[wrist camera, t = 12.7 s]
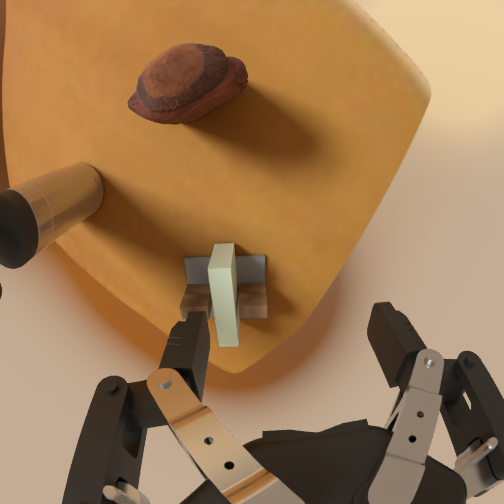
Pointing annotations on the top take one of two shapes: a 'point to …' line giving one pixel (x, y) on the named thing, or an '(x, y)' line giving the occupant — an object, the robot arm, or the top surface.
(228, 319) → the pale green upright slab
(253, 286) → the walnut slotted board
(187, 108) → the wooden figurine
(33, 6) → the top surface
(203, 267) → the charcoal base board
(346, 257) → the top surface
